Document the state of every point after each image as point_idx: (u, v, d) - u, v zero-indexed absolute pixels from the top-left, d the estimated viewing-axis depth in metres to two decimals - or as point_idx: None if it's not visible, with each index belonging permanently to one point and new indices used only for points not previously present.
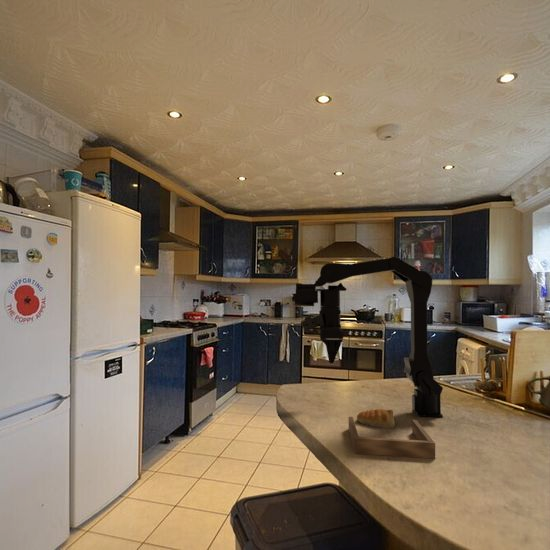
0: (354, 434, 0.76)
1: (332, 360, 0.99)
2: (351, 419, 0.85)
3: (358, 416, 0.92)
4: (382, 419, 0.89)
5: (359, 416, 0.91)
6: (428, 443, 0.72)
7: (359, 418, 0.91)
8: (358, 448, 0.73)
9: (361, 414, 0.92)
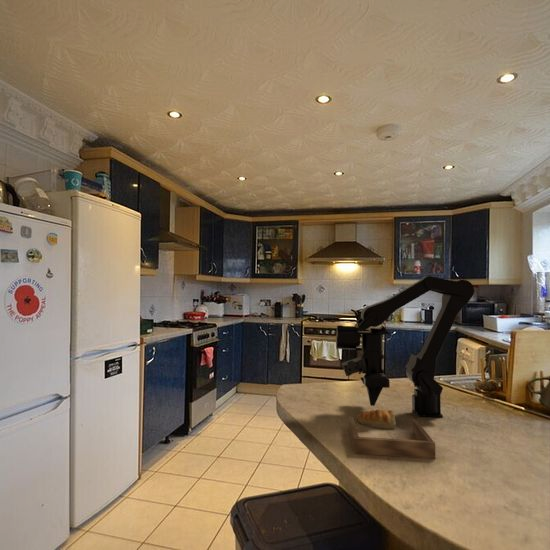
0: (354, 434, 0.76)
1: (373, 402, 1.01)
2: (351, 419, 0.85)
3: (359, 417, 0.91)
4: (383, 420, 0.88)
5: (360, 417, 0.91)
6: (428, 443, 0.72)
7: (360, 419, 0.91)
8: (358, 448, 0.73)
9: (362, 415, 0.91)
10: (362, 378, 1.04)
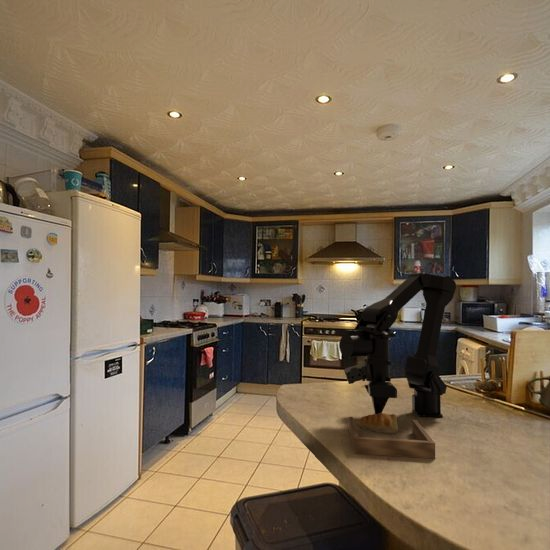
0: (354, 434, 0.76)
1: None
2: (351, 419, 0.85)
3: (360, 421, 0.88)
4: (385, 424, 0.85)
5: (361, 421, 0.88)
6: (428, 443, 0.72)
7: (361, 423, 0.88)
8: (358, 448, 0.73)
9: (363, 419, 0.88)
10: (366, 386, 0.95)
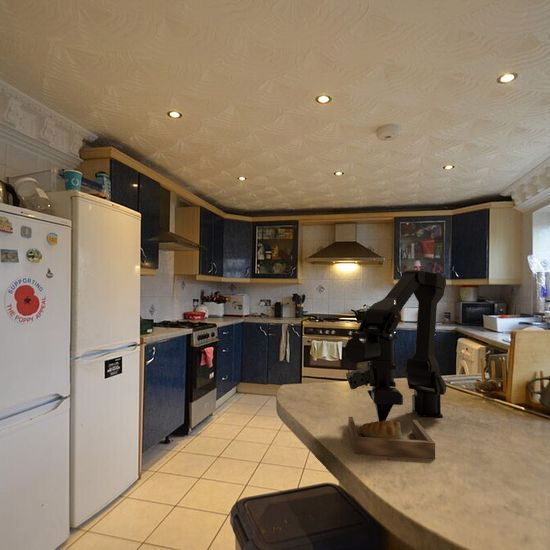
0: (354, 434, 0.76)
1: None
2: (351, 419, 0.85)
3: (361, 428, 0.83)
4: (387, 433, 0.80)
5: (362, 428, 0.83)
6: (428, 443, 0.72)
7: (362, 430, 0.83)
8: (358, 448, 0.73)
9: (364, 426, 0.83)
10: (369, 391, 0.89)
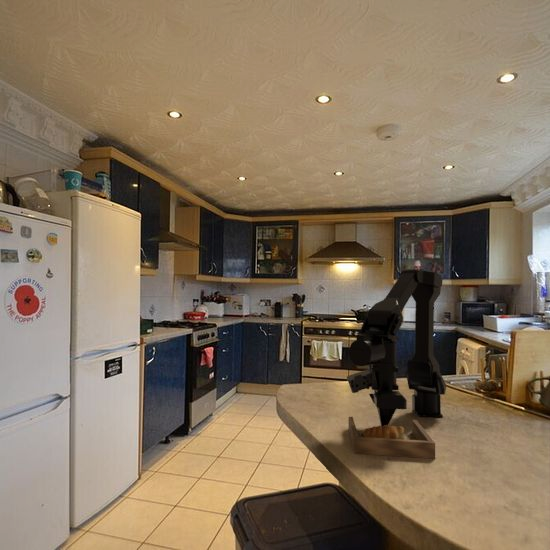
0: (354, 434, 0.76)
1: None
2: (351, 419, 0.85)
3: (363, 433, 0.80)
4: (390, 438, 0.77)
5: (364, 433, 0.80)
6: (428, 443, 0.72)
7: (364, 435, 0.80)
8: (358, 448, 0.73)
9: (366, 431, 0.80)
10: (371, 395, 0.86)
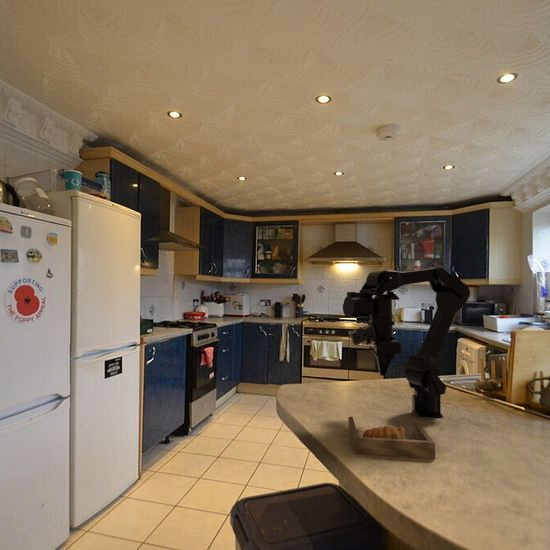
0: (354, 434, 0.76)
1: (383, 372, 0.95)
2: (351, 419, 0.85)
3: (364, 434, 0.80)
4: None
5: (365, 434, 0.79)
6: (428, 443, 0.72)
7: None
8: (358, 448, 0.73)
9: (367, 432, 0.79)
10: (371, 347, 0.98)
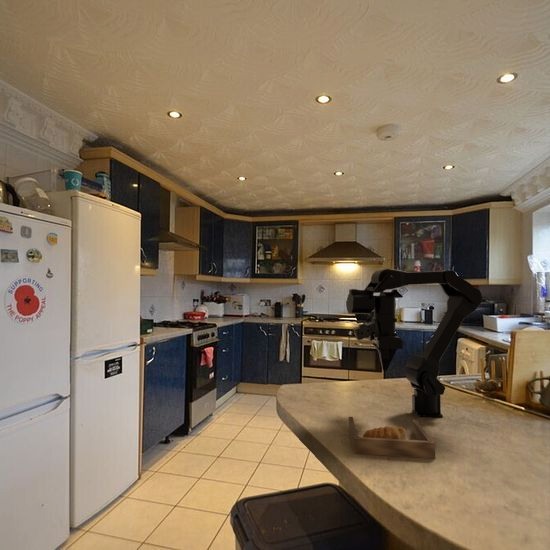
0: (354, 434, 0.76)
1: (386, 367, 0.98)
2: (351, 419, 0.85)
3: (364, 435, 0.79)
4: None
5: (366, 435, 0.79)
6: (428, 443, 0.72)
7: None
8: (358, 448, 0.73)
9: (368, 433, 0.79)
10: (374, 343, 1.02)
